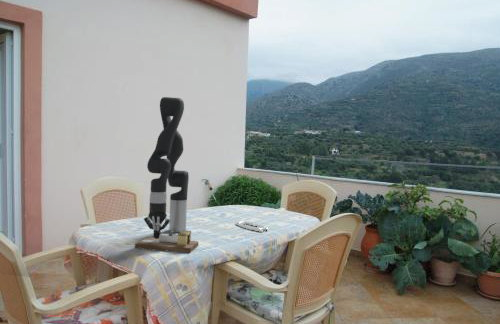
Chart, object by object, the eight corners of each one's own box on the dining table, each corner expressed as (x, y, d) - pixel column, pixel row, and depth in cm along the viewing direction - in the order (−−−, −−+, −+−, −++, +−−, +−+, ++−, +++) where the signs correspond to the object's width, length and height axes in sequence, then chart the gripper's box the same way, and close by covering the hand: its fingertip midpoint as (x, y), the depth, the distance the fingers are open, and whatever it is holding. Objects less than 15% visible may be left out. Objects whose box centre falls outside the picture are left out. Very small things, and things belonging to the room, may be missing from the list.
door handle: (244, 223, 222) (271, 231, 203) (231, 225, 215) (258, 233, 196) (244, 219, 222) (271, 227, 203) (231, 221, 215) (258, 229, 196)
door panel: (146, 241, 170) (146, 236, 170) (198, 245, 166) (198, 241, 166) (134, 247, 158) (135, 243, 158) (190, 252, 154) (190, 247, 154)
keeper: (182, 241, 164) (182, 230, 164) (190, 242, 164) (191, 231, 164) (177, 245, 157) (177, 233, 157) (185, 246, 157) (186, 234, 157)
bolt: (161, 239, 164) (162, 229, 164) (182, 241, 162) (182, 231, 162) (159, 241, 161) (159, 230, 161) (180, 243, 159) (180, 232, 159)
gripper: (174, 201, 165) (173, 237, 165) (148, 199, 167) (147, 235, 167) (168, 203, 157) (167, 241, 158) (140, 201, 159) (139, 239, 160)
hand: (156, 238), depth 163 cm, fingers closed
